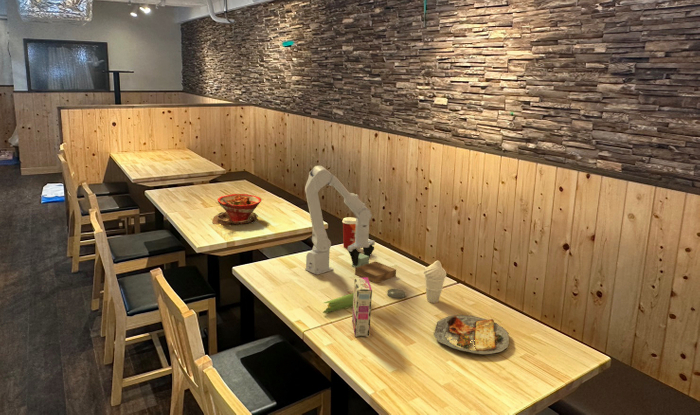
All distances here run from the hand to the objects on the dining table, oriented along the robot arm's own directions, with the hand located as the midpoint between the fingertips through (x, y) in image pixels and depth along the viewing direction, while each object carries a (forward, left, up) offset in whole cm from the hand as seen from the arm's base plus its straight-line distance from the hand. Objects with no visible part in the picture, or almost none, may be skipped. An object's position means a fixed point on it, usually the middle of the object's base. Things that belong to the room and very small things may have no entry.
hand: (360, 263), depth 232 cm
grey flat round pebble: (-10, -30, -2) cm, 32 cm away
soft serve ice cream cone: (-3, -42, -2) cm, 42 cm away
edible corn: (-33, -25, -2) cm, 42 cm away
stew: (-5, +92, -2) cm, 92 cm away
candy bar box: (-40, -41, -2) cm, 57 cm away
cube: (0, 0, -2) cm, 2 cm away
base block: (-2, -11, -1) cm, 11 cm away
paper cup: (+14, +22, -2) cm, 26 cm away
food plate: (-16, -68, -2) cm, 70 cm away
